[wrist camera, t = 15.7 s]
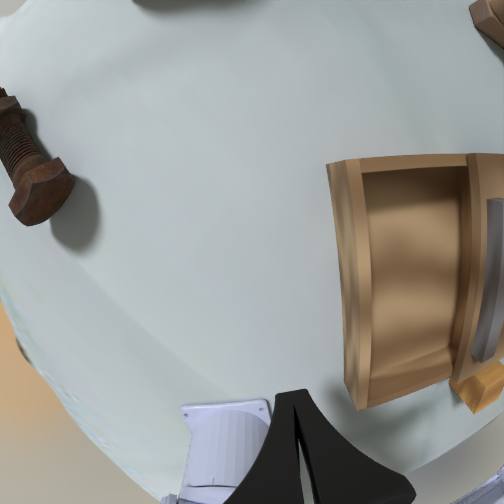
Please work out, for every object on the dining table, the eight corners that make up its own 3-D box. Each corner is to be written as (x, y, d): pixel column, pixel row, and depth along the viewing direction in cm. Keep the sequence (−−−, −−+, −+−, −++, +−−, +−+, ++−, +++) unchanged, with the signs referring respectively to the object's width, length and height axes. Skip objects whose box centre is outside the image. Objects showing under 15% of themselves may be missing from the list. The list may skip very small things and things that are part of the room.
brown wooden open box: (450, 344, 21) (472, 365, 17) (343, 381, 22) (356, 411, 18) (456, 155, 17) (487, 154, 13) (325, 164, 18) (345, 159, 14)
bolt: (18, 98, 17) (81, 192, 19) (-17, 130, 15) (38, 233, 17) (3, 63, 12) (63, 161, 14) (-38, 100, 10) (8, 215, 12)
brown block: (472, 371, 23) (498, 398, 17) (448, 383, 23) (474, 414, 17) (479, 344, 22) (510, 370, 16) (455, 356, 22) (485, 387, 16)
